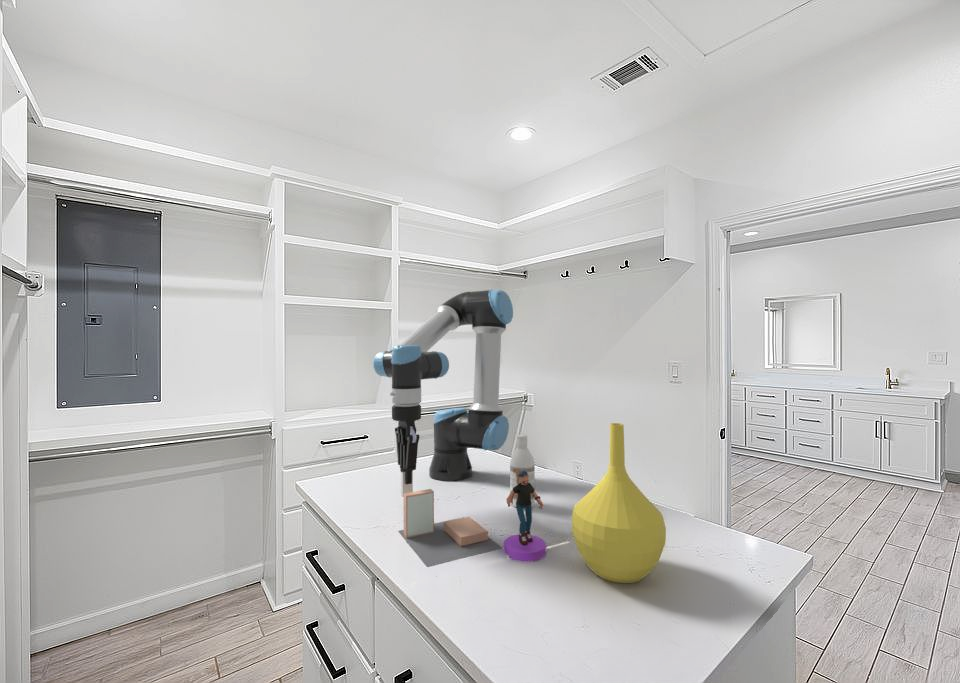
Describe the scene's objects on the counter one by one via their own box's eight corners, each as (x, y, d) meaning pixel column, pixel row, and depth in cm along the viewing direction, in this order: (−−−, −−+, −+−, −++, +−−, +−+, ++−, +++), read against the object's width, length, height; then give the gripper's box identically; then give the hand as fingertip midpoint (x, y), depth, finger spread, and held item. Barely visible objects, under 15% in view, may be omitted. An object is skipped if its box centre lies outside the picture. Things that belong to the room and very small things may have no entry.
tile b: (430, 529, 111) (430, 488, 111) (434, 532, 109) (434, 491, 109) (403, 535, 108) (403, 493, 108) (406, 538, 106) (406, 496, 106)
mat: (464, 518, 118) (464, 517, 118) (502, 549, 101) (502, 547, 101) (397, 532, 110) (397, 530, 110) (427, 568, 92) (427, 566, 92)
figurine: (515, 564, 94) (514, 478, 94) (497, 546, 102) (496, 467, 103) (553, 556, 97) (553, 473, 97) (533, 539, 106) (532, 463, 106)
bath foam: (506, 503, 130) (505, 434, 130) (527, 499, 133) (526, 432, 133) (517, 511, 124) (517, 438, 124) (539, 507, 126) (538, 436, 126)
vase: (656, 607, 79) (655, 437, 79) (558, 578, 88) (557, 427, 88) (673, 563, 94) (672, 421, 94) (588, 543, 104) (587, 414, 104)
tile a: (469, 516, 113) (488, 531, 105) (469, 525, 113) (488, 540, 105) (443, 521, 110) (460, 537, 101) (443, 530, 110) (461, 546, 101)
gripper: (385, 402, 120) (385, 490, 120) (400, 408, 109) (400, 505, 109) (412, 400, 124) (412, 486, 124) (429, 406, 112) (429, 500, 112)
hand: (406, 495), depth 116 cm, fingers closed
